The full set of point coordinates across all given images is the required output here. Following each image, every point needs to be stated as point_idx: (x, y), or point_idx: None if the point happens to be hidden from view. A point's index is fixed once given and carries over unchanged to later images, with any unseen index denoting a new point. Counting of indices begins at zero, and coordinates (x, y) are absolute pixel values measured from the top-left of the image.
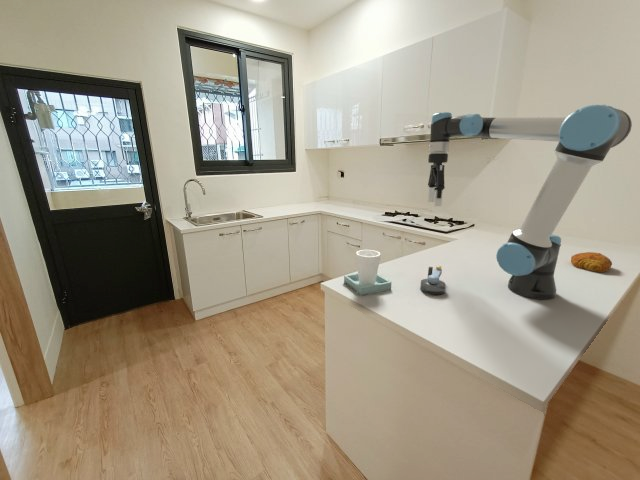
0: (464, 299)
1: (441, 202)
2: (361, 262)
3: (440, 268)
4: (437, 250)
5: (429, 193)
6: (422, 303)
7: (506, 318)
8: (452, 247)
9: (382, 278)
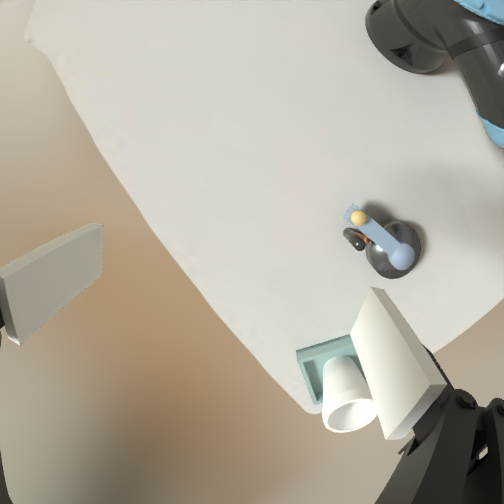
0: (436, 200)
1: (395, 306)
2: (360, 414)
3: (365, 216)
4: (91, 104)
5: (57, 304)
6: (429, 289)
7: (489, 175)
8: (75, 58)
9: (345, 349)
